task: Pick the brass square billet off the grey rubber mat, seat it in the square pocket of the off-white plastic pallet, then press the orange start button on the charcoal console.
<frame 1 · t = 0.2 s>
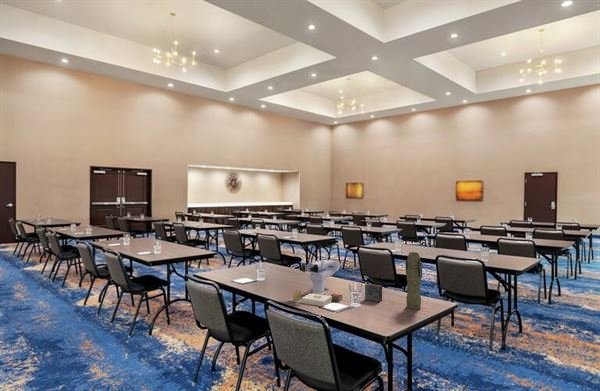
hand: (305, 269, 244), 21 cm above the table, tool horizontal, fingers open, 7 cm apart
billet: (297, 299, 246), resting on billet mat
thermos: (413, 307, 231), on the table
button console: (335, 300, 247), on the table
button cap: (335, 295, 247), point 3 cm above the table, slide at 0.0 cm
billet mat: (297, 300, 246), on the table
small box: (373, 300, 247), on the table
pallet: (316, 302, 241), on the table
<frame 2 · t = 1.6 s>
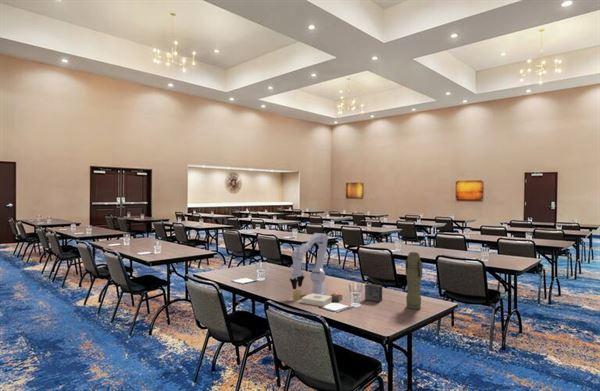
hand: (297, 287, 246), 8 cm above the table, tool pointing down, fingers open, 7 cm apart
nothing on the table moved.
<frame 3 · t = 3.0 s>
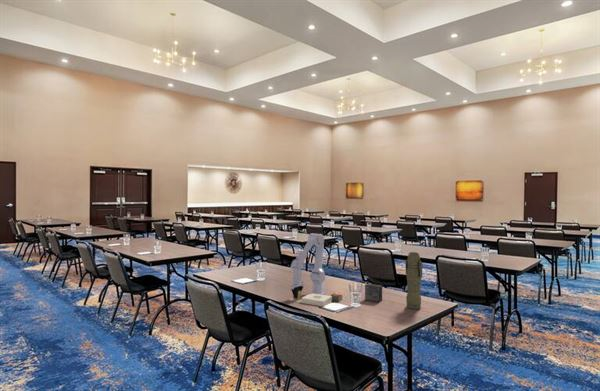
hand: (297, 297, 246), 2 cm above the table, tool pointing down, fingers closed on billet, 4 cm apart
billet: (297, 299, 246), resting on billet mat, touching gripper
everything else where it was.
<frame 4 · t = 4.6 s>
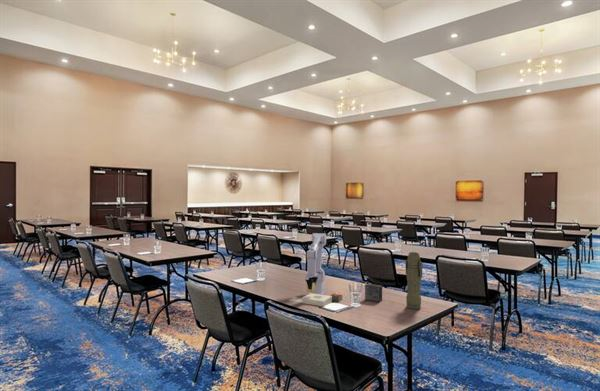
hand: (311, 288, 243), 9 cm above the table, tool pointing down, fingers closed on billet, 4 cm apart
billet: (310, 291, 243), point 7 cm above the table, touching gripper
everything else where it was.
when the fingers open (4 cm above the table, at t = 6.2 s): billet stays where it is, resting on pallet.
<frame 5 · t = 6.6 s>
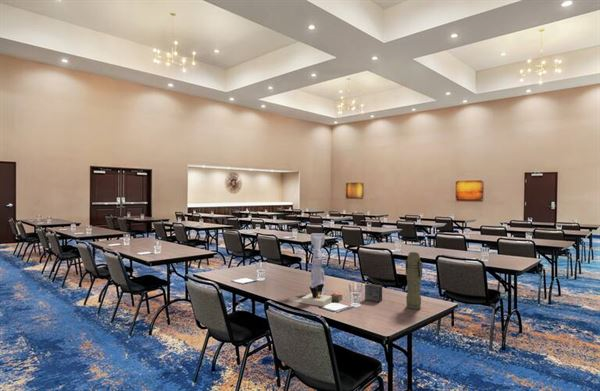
hand: (316, 296, 241), 4 cm above the table, tool pointing down, fingers open, 7 cm apart
billet: (316, 300, 241), point 1 cm above the table, touching pallet
everything else where it was.
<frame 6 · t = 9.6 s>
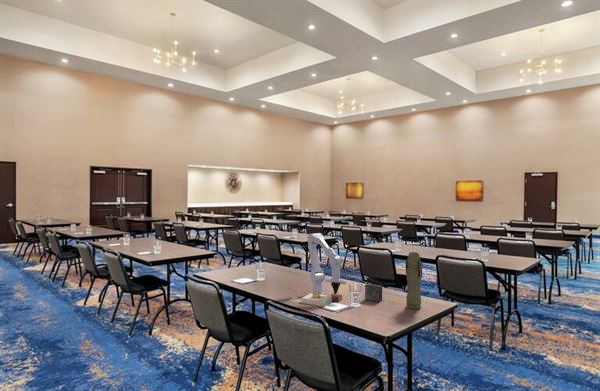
hand: (335, 293, 247), 4 cm above the table, tool pointing down, fingers closed, pressing on button cap
button cap: (335, 295, 247), point 3 cm above the table, slide at 0.1 cm, touching gripper
everything else where it was.
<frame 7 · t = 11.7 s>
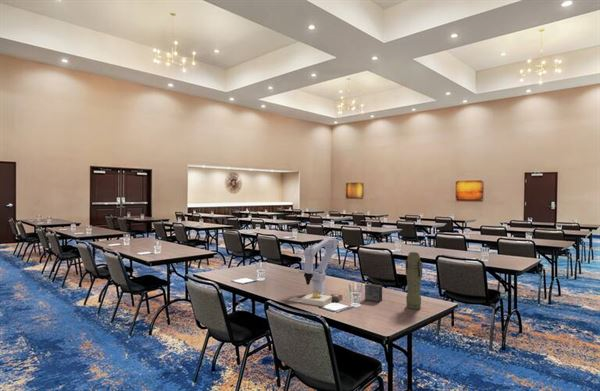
hand: (307, 284, 253), 9 cm above the table, tool pointing down, fingers closed
button cap: (335, 297, 247), point 2 cm above the table, slide at 1.3 cm
everything else where it was.
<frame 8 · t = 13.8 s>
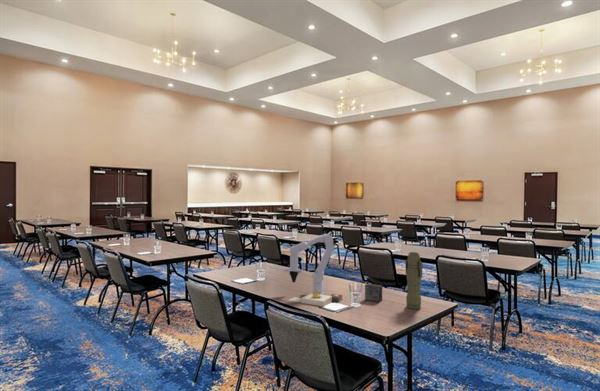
hand: (293, 282, 259), 9 cm above the table, tool pointing down, fingers closed
nothing on the table moved.
at the end: billet 0.4 cm off-centre on the pallet, point 1.0 cm above the pallet's base; billet tilted 0°; button cap slide at 1.3 cm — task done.
